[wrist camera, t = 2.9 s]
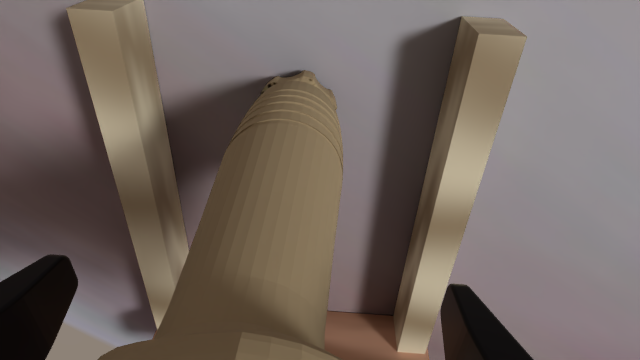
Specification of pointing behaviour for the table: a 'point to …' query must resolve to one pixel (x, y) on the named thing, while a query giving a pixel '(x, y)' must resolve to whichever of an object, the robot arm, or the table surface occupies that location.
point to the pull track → (162, 193)
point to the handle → (262, 239)
